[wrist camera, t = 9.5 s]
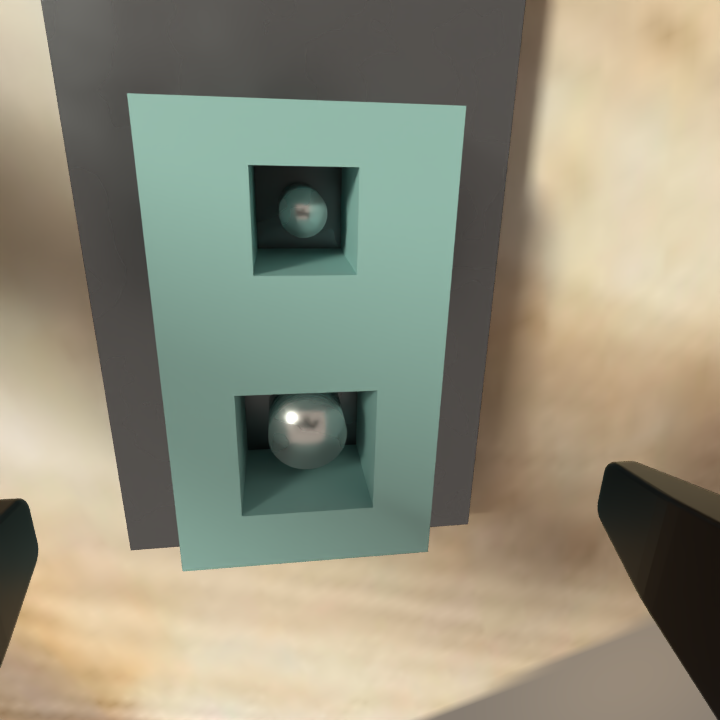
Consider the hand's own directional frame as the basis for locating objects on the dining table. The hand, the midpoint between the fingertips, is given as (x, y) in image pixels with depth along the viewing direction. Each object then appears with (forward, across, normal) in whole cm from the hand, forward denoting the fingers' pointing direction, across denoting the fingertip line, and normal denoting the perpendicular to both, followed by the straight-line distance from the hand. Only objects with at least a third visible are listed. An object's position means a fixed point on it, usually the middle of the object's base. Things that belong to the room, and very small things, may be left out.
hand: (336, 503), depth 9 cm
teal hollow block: (+9, 0, 0) cm, 9 cm away
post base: (+10, 0, -1) cm, 11 cm away
